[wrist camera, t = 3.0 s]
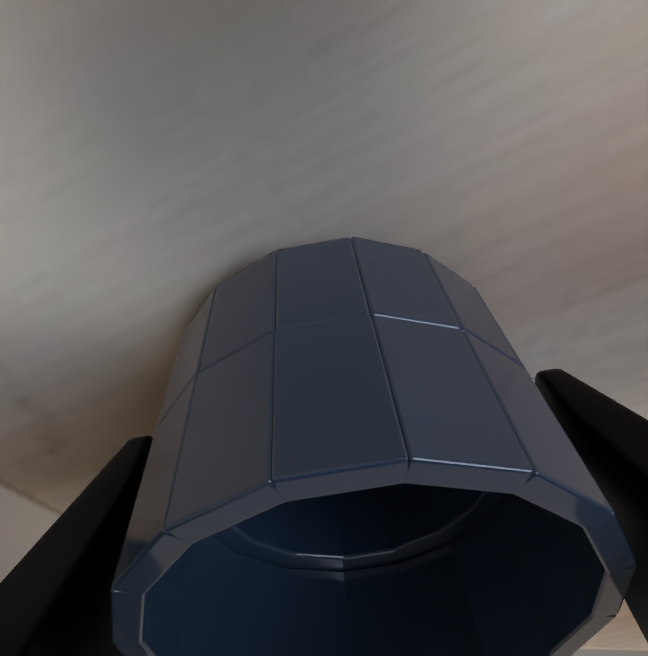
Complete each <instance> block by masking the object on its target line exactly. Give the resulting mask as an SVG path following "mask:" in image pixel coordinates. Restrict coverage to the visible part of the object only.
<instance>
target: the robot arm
mask: <svg viewBox="0 0 648 656" xmlns="http://www.w3.org/2000/svg"><path fill="white" fill-rule="evenodd" d="M535 385H536V386H537V388H538V389H539V391H540V393H541V394H542V396H543V397H544V399H545V401H546V402H547V404H548V405H549V407H550V409H551V410H552V412H553V413H554V415H555V417H556V418H557V420H558V422H559V423H560V425H561V426H562V428H563V430H564V431H565V433H566V434H567V436H568V438H569V439H570V441H571V442H572V444H573V446H574V447H575V449H576V450H577V452H578V454H579V455H580V457H581V458H582V460H583V462H584V463H585V465H586V467H587V468H588V470H589V471H590V473H591V475H592V476H593V478H594V479H595V481H596V483H597V484H598V486H599V487H600V489H601V491H602V492H603V494H604V495H605V497H606V499H607V500H608V502H609V504H610V505H611V507H612V508H613V510H614V512H615V514H616V516H617V518H618V520H619V523H620V525H621V527H622V529H623V532H624V534H625V536H626V538H627V540H628V543H629V545H630V547H631V549H632V551H633V554H634V556H635V558H636V561H637V563H636V565H637V567H636V570H635V572H634V575H633V577H632V580H631V582H630V585H629V587H628V590H627V592H626V595H625V597H624V599H625V601H626V603H627V605H628V607H629V609H630V611H631V612H632V614H633V616H634V618H635V620H636V622H637V624H638V626H639V627H640V629H641V631H642V633H643V635H644V637H645V639H646V640H647V642H648V420H647V419H645V418H643V417H642V416H640V415H638V414H636V413H635V412H633V411H631V410H630V409H628V408H626V407H625V406H623V405H621V404H619V403H618V402H616V401H614V400H613V399H611V398H609V397H607V396H606V395H604V394H602V393H601V392H599V391H597V390H596V389H594V388H592V387H590V386H589V385H587V384H585V383H584V382H582V381H580V380H578V379H577V378H575V377H573V376H572V375H570V374H568V373H567V372H565V371H563V370H561V369H550V370H544V371H540V372H538V373H537V374H536V378H535ZM152 441H153V437H152V436H148V435H147V436H141V437H135V438H132V439H130V440H129V441H127V442H126V444H125V445H124V446H123V447H122V448H121V449H120V450H119V451H118V453H117V454H116V455H115V456H114V457H113V458H112V459H111V460H110V461H109V463H108V464H107V465H106V466H105V467H104V468H103V469H102V470H101V472H100V473H99V474H98V475H97V476H96V477H95V478H94V479H93V480H92V482H91V483H90V484H89V485H88V486H87V487H86V488H85V489H84V490H83V492H82V493H81V494H80V495H79V496H78V497H77V498H76V499H75V501H74V502H73V503H72V504H71V505H70V506H69V507H68V508H67V509H66V511H65V512H64V513H63V514H62V515H61V516H60V517H59V518H58V519H57V521H56V522H55V523H54V524H53V525H52V526H51V527H50V528H49V530H48V531H47V532H46V533H45V534H44V535H43V536H42V537H41V538H40V540H39V541H38V542H37V543H36V544H35V545H34V546H33V548H32V549H31V550H30V551H29V552H28V553H27V554H26V555H25V556H24V558H23V559H22V560H21V561H20V562H19V563H18V564H17V565H16V566H15V567H14V569H13V570H12V571H11V572H10V573H9V574H8V575H7V576H6V578H5V579H4V580H3V581H2V582H1V583H0V656H123V655H122V654H121V653H120V651H119V650H118V649H117V648H116V647H115V646H114V645H113V642H112V640H111V586H112V583H113V579H114V576H115V572H116V568H117V565H118V561H119V558H120V554H121V551H122V547H123V544H124V540H125V537H126V533H127V529H128V526H129V522H130V519H131V515H132V512H133V508H134V505H135V501H136V497H137V494H138V490H139V487H140V483H141V480H142V476H143V473H144V469H145V465H146V462H147V458H148V455H149V451H150V448H151V444H152Z"/></svg>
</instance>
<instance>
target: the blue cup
mask: <svg viewBox="0 0 648 656" xmlns="http://www.w3.org/2000/svg"><path fill="white" fill-rule="evenodd" d="M636 563H637V561H636V558H635V556H634V554H633V551H632V549H631V547H630V545H629V543H628V540H627V538H626V536H625V534H624V532H623V529H622V527H621V525H620V523H619V520H618V518H617V516H616V514H615V512H614V510H613V508H612V507H611V505H610V504H609V502H608V500H607V499H606V497H605V495H604V494H603V492H602V491H601V489H600V487H599V486H598V484H597V483H596V481H595V479H594V478H593V476H592V475H591V473H590V471H589V470H588V468H587V467H586V465H585V463H584V462H583V460H582V458H581V457H580V455H579V454H578V452H577V450H576V449H575V447H574V446H573V444H572V442H571V441H570V439H569V438H568V436H567V434H566V433H565V431H564V430H563V428H562V426H561V425H560V423H559V422H558V420H557V418H556V417H555V415H554V413H553V412H552V410H551V409H550V407H549V405H548V404H547V402H546V401H545V399H544V397H543V396H542V394H541V393H540V391H539V389H538V388H537V386H536V385H535V383H534V381H533V380H532V378H531V376H530V375H529V373H528V372H527V371H526V369H525V367H524V365H523V364H522V362H521V360H520V359H519V357H518V356H517V354H516V352H515V351H514V349H513V348H512V346H511V344H510V343H509V341H508V340H507V338H506V336H505V335H504V333H503V331H502V330H501V328H500V327H499V325H498V323H497V322H496V320H495V319H494V317H493V315H492V314H491V312H490V311H489V309H488V307H487V306H486V304H485V303H484V301H483V299H482V298H481V296H480V294H479V293H478V291H477V290H476V288H475V287H473V286H472V284H470V283H469V282H467V281H466V280H464V279H463V278H461V277H460V276H458V275H457V274H456V273H454V272H453V271H451V270H450V269H448V268H447V267H445V266H444V265H443V264H441V263H440V262H438V261H437V260H435V259H434V258H432V257H431V256H430V255H428V254H426V253H422V251H421V250H418V249H413V248H408V247H403V246H398V245H393V244H387V243H382V242H377V241H372V240H367V239H361V238H356V237H352V238H351V239H350V238H341V239H336V240H330V241H325V242H319V243H313V244H308V245H302V246H296V247H291V248H285V249H280V250H278V251H277V252H276V251H274V252H272V253H270V254H269V255H267V256H265V257H264V258H262V259H260V260H259V261H257V262H256V263H254V264H252V265H251V266H249V267H247V268H246V269H244V270H242V271H241V272H239V273H237V274H236V275H234V276H233V277H231V278H229V279H228V280H226V281H224V282H223V283H221V284H219V285H218V286H217V288H215V289H213V291H212V292H211V294H210V295H209V297H208V298H207V300H206V301H205V302H204V304H203V305H202V307H201V308H200V310H199V311H198V313H197V314H196V316H195V317H194V319H193V320H192V322H191V323H190V325H189V326H188V328H187V329H186V331H185V332H184V333H183V336H182V339H181V341H180V345H179V348H178V352H177V356H176V359H175V363H174V366H173V370H172V373H171V377H170V381H169V384H168V388H167V391H166V395H165V398H164V402H163V405H162V409H161V413H160V416H159V420H158V423H157V427H156V431H155V434H154V437H153V441H152V444H151V448H150V451H149V455H148V458H147V462H146V465H145V469H144V473H143V476H142V480H141V483H140V487H139V490H138V494H137V497H136V501H135V505H134V508H133V512H132V515H131V519H130V522H129V526H128V529H127V533H126V537H125V540H124V544H123V547H122V551H121V554H120V558H119V561H118V565H117V568H116V572H115V576H114V579H113V583H112V586H111V640H112V642H113V645H114V646H115V647H116V648H117V649H118V650H119V651H120V653H121V654H122V655H123V656H571V655H572V654H573V653H574V652H575V651H577V650H578V649H579V648H580V647H581V646H582V645H583V644H585V643H586V642H587V641H588V640H589V639H590V638H591V637H593V636H594V635H595V634H596V633H597V632H598V631H599V630H601V629H602V628H603V627H604V626H605V625H606V624H608V623H609V622H610V621H611V620H612V619H613V618H614V617H616V614H618V612H619V610H620V607H621V605H622V602H623V600H624V597H625V595H626V592H627V590H628V587H629V585H630V582H631V580H632V577H633V575H634V572H635V570H636V567H637V565H636Z"/></svg>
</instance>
